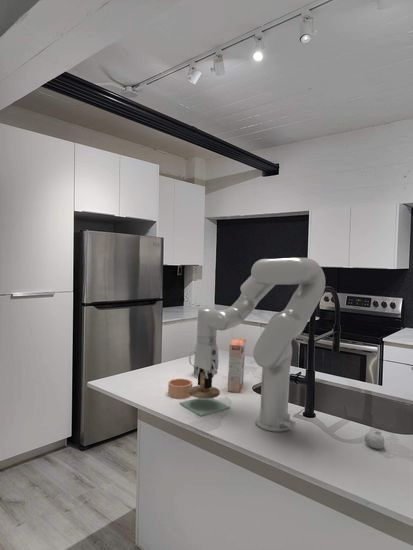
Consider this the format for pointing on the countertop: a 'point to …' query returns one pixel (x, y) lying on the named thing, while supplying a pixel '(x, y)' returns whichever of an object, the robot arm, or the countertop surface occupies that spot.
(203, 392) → the lid
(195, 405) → the mat
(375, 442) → the garlic
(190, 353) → the french press
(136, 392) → the countertop surface
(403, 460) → the countertop surface
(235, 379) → the cracker box
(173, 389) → the bowl
